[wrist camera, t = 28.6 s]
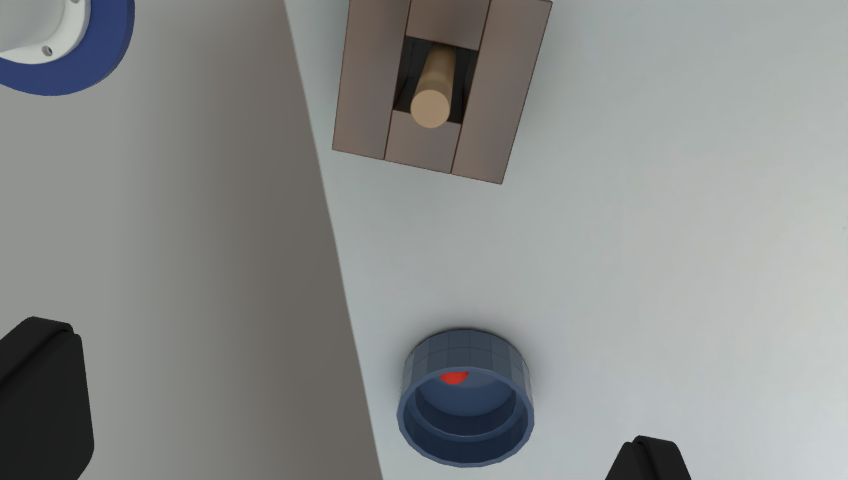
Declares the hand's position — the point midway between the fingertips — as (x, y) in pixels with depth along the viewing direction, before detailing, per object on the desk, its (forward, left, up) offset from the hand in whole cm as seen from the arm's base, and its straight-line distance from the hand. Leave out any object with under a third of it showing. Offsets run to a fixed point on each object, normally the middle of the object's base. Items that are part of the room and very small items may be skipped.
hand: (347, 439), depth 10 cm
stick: (0, +1, -38) cm, 38 cm away
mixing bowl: (+9, -31, -38) cm, 50 cm away
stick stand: (0, 0, -38) cm, 38 cm away
